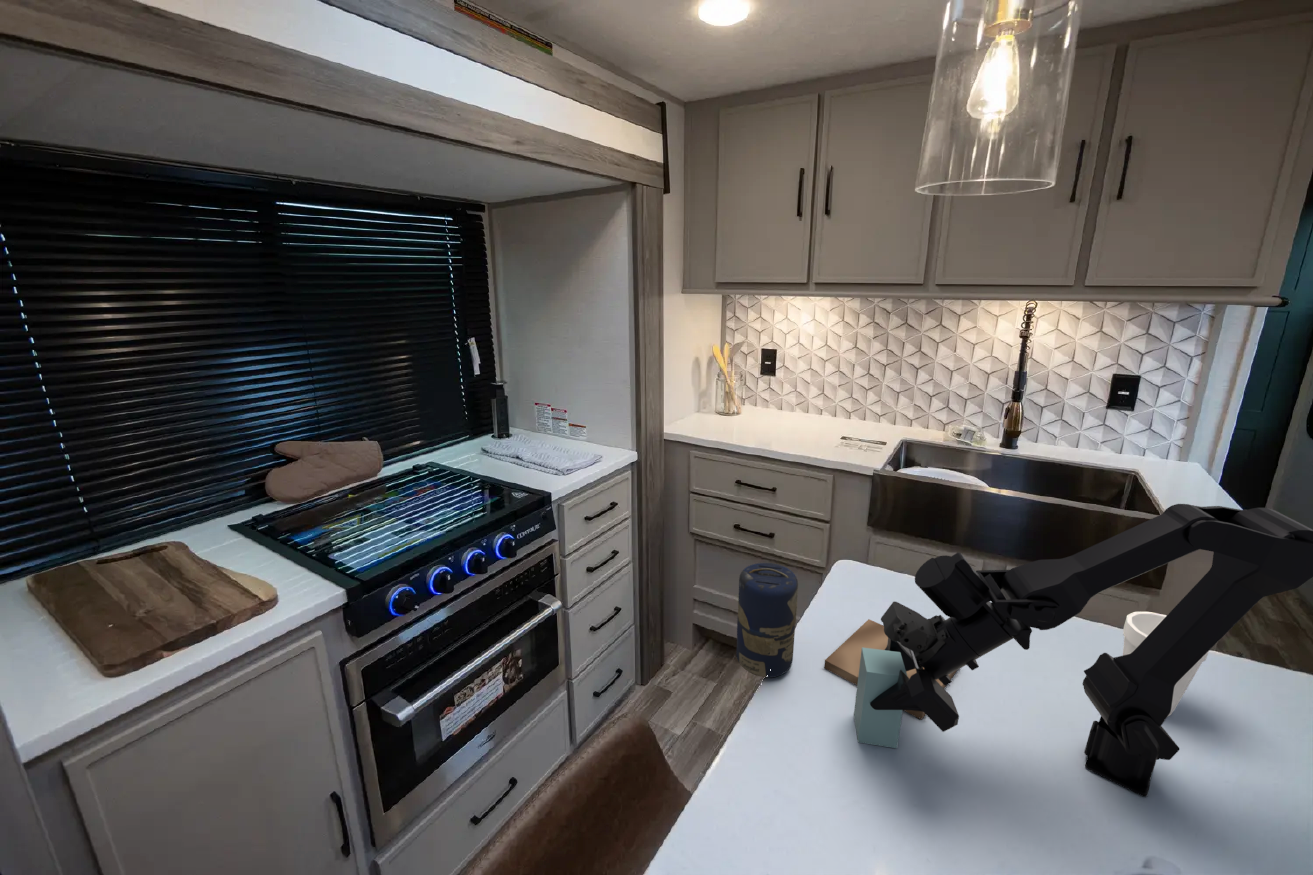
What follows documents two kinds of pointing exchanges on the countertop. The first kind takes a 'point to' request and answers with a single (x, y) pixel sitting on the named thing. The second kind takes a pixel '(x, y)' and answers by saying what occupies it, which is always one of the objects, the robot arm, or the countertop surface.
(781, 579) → the canister
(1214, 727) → the countertop surface
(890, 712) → the tall sage green block
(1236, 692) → the countertop surface
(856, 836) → the countertop surface
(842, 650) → the stand
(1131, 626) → the foam cup
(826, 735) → the countertop surface
